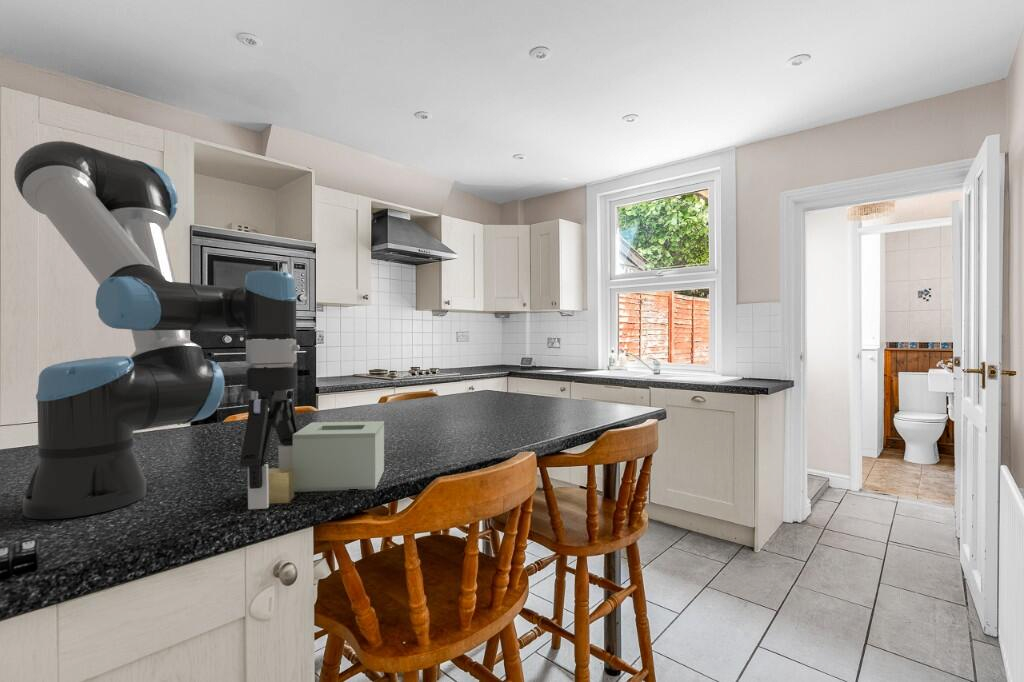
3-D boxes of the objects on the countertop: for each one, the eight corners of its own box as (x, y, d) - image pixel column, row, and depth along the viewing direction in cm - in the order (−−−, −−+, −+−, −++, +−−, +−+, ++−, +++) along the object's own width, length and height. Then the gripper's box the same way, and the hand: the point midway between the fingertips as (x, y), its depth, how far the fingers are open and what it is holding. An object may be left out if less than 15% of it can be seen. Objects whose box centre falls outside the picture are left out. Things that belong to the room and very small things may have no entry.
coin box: (292, 492, 86) (292, 434, 86) (311, 472, 98) (311, 422, 98) (375, 489, 88) (375, 433, 88) (384, 470, 100) (384, 421, 99)
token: (249, 504, 80) (249, 474, 80) (256, 498, 83) (256, 468, 83) (288, 503, 81) (288, 472, 81) (294, 497, 84) (294, 467, 84)
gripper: (268, 370, 69) (271, 520, 70) (316, 361, 94) (317, 472, 94) (211, 371, 69) (214, 523, 69) (274, 362, 93) (276, 474, 93)
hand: (274, 494), depth 82 cm, fingers open, 13 cm apart
